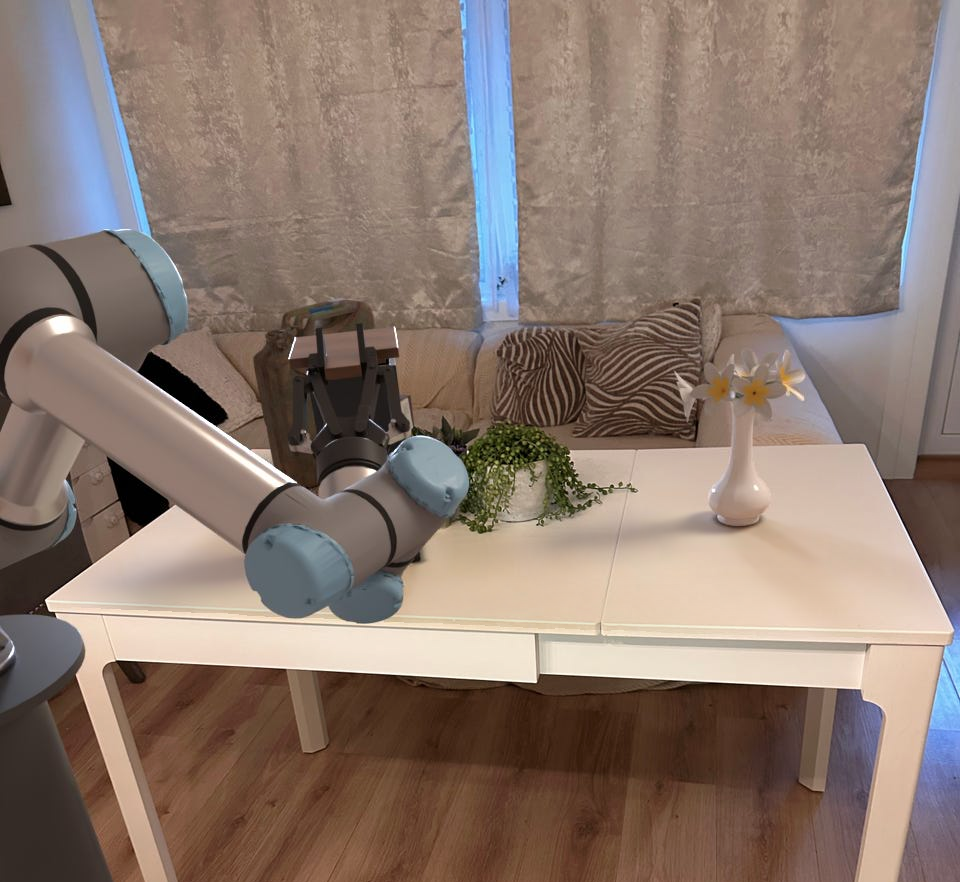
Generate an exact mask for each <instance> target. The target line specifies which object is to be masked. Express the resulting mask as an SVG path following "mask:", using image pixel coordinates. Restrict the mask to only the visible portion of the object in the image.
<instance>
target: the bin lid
mask: <svg viewBox="0 0 960 882" xmlns="http://www.w3.org/2000/svg"><path fill="white" fill-rule="evenodd" d="M323 335H324V340H325V345H326V362H325V368H324V370H325V376H326V380H334V379H343V378H352V377H361V376H362V370H361V364H360V358H359V348H358V338H357V331H351V332H342V333H332V334H323ZM364 336H365V343H366V347H372V346H374V348H375V349H376V355H377V362H378V363H385V362H386V359H389V358H395V359H396V358H398V359H399V358H400V350H399V344H398V338H397V331H396V327H395V326H388V327H387V326H386V327H379V328H375V329H369V330H364ZM312 353H317V342H316V335H314V336H305V337H296V338H295V341H294V344H293V347H292V350H291V354H290V357H289V365H290V369H299V368H306V371H308V369H307V368H308V366H309V364H308V356H309V354H312Z"/></svg>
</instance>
